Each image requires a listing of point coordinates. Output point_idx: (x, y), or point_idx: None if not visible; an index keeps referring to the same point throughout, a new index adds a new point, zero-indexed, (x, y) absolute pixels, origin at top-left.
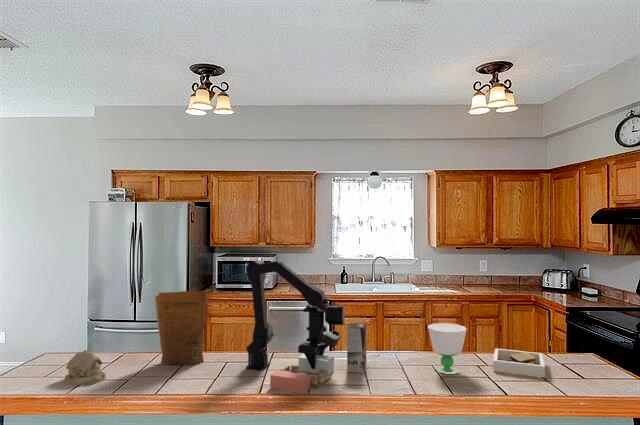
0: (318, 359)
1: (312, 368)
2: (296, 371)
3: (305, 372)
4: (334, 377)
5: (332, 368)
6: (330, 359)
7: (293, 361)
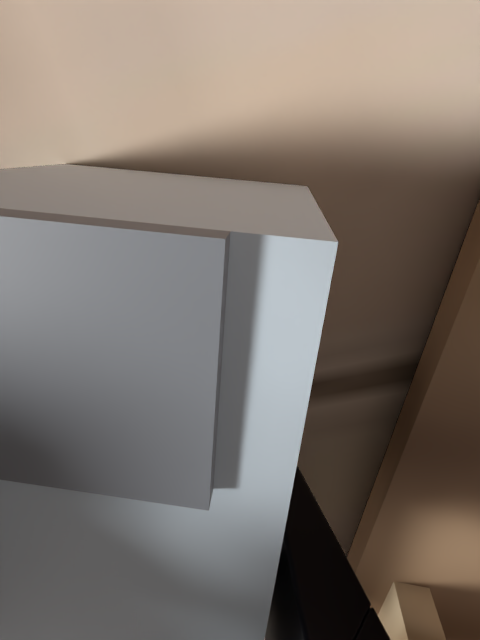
0: (255, 565)
1: None
2: (432, 619)
3: (379, 520)
4: (439, 33)
5: (117, 174)
6: (181, 232)
7: None
